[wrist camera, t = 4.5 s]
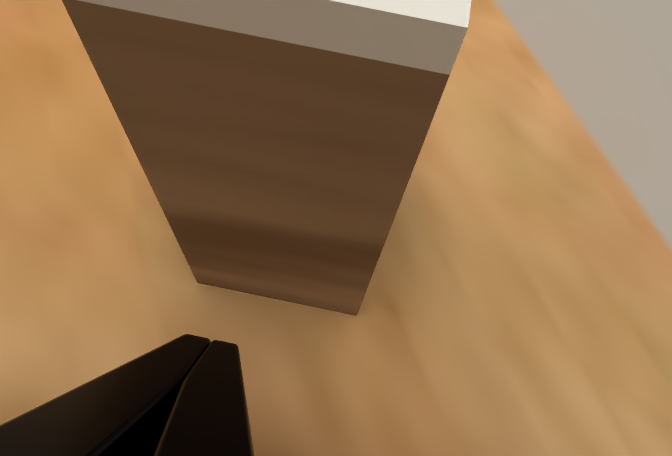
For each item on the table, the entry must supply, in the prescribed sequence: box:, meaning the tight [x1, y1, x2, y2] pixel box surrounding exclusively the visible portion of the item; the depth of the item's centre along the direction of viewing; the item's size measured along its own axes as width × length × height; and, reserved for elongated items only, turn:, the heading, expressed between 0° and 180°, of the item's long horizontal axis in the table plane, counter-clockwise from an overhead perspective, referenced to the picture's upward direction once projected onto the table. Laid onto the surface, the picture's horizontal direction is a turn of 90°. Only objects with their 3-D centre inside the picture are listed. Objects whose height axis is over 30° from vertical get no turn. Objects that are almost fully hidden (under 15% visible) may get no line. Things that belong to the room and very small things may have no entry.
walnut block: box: [62, 0, 471, 315], centre depth 13 cm, size 5×5×12 cm
